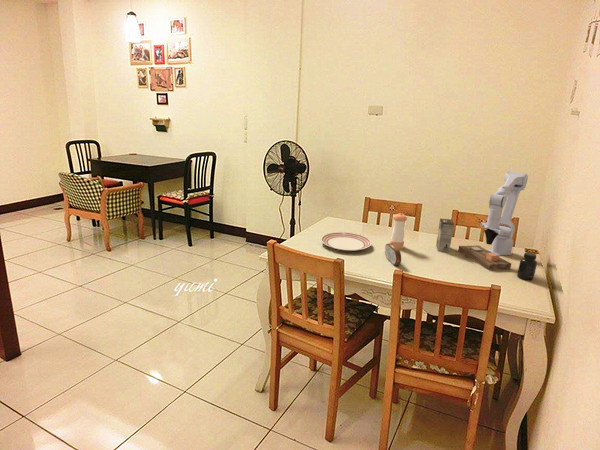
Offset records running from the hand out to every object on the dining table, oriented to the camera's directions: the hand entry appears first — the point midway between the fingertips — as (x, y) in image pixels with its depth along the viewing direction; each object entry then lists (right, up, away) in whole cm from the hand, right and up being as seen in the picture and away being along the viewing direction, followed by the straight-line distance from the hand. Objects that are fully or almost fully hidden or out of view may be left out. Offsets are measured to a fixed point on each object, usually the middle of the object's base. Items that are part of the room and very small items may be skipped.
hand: (489, 244), depth 199 cm
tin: (-50, -9, -4) cm, 51 cm away
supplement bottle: (+9, -15, -15) cm, 24 cm away
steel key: (-2, -6, +11) cm, 13 cm away
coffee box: (-17, -4, +19) cm, 25 cm away
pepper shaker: (-42, -2, +18) cm, 46 cm away
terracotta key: (+1, -8, -2) cm, 8 cm away
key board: (-1, -8, +5) cm, 10 cm away
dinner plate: (-71, -2, +17) cm, 72 cm away
